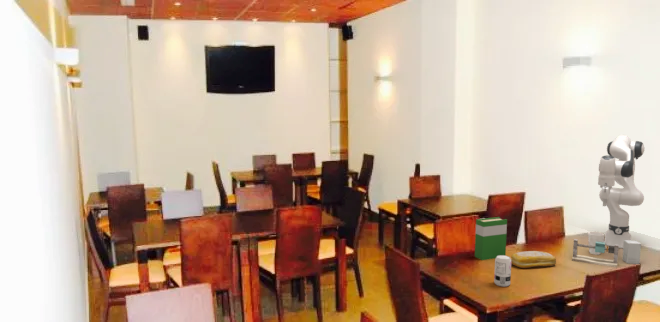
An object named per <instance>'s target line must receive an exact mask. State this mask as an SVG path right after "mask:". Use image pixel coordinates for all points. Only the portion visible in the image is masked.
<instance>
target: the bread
mask: <svg viewBox="0 0 660 322" xmlns="http://www.w3.org/2000/svg"><path fill="white" fill-rule="evenodd" d="M510 259H511V265H512V266H514V267H517V268H519V269H531V268H535V267H536V268H537V267H553V266H555V265H556V263H557V258H556V257H555V255H553V254H551V253H549V252H546V251H541V250H540V251H537V250H528V251H527V250H525V251H519V252H514V253H513V254H511V257H510Z"/></svg>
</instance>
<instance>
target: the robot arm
mask: <svg viewBox="0 0 660 322" xmlns="http://www.w3.org/2000/svg"><path fill="white" fill-rule="evenodd" d="M606 152H607V155H603V156H601V157H600V161H599V163H598V171H599V174H598V180H597V181H598V182H597V184H598V186H599V188H601V189H600V191H599V195H598V196H599V199H600V201H601V202H602V207H607V208H608V211H609V223H608V230H607V231H605V233H604V234H605V235H604V240H603V242H605V246H608V247H609V246H615V245H619V247H618V249H623V244H624V240H632V234H631V233H630V225H629V224H630V223H629V222H630V214H629V213H628V211H626V210H624V209H623V208H621V206H630V207H636V206H641V205H642V204H643V202H644V200H645V196H644V194H643V192H642V191H641V190H639V189H638V187H637V186H636V185H635V171H636V161H637V160H638V159H639V158H641V157H642V155H643V154H644V153H645V145H644V143H643V142H642V141H638V140H631V138H630V137H629V136H628V135H626V134H619V135H618V136H616V137H615V138H614V139H613V140H612V141H610V142H609V143H608V144H607V146H606ZM616 159H618V160H616ZM615 182H616V184H618V185H620V186H621V188H620V187H614V186H615V185H616V184H615Z"/></svg>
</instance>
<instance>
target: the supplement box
mask: <svg viewBox="0 0 660 322" xmlns="http://www.w3.org/2000/svg"><path fill="white" fill-rule="evenodd" d="M641 248H642V243H641V242H639V241H637V240H632V239H631V240H624V244H623V248H622V261H624V263H626V264H634V265H640V261H641V251H642V250H641Z"/></svg>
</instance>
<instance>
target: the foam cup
mask: <svg viewBox="0 0 660 322" xmlns="http://www.w3.org/2000/svg"><path fill="white" fill-rule="evenodd" d="M605 236H606V235H605V233H603V232H599V231H593V230H592V231H588V232H587V239H588V240H587V241H588V245H592V246H595V244H596V241H597V242H603V240H605ZM588 250H589V254H591V255H597V256H599V255H601V253H600V252H595V249H594V248H588Z"/></svg>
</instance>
